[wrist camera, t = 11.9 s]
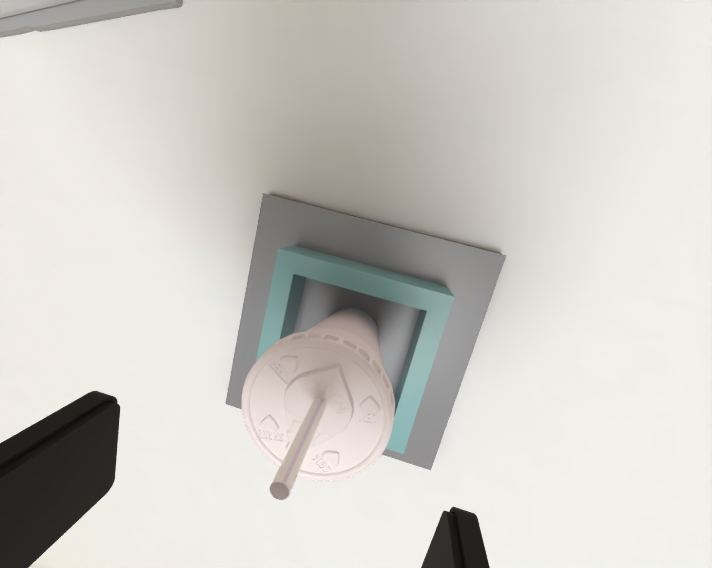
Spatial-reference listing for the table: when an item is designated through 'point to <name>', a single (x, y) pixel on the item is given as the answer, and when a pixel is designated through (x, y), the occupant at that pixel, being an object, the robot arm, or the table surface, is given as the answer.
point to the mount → (370, 306)
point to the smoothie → (321, 401)
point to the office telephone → (69, 13)
